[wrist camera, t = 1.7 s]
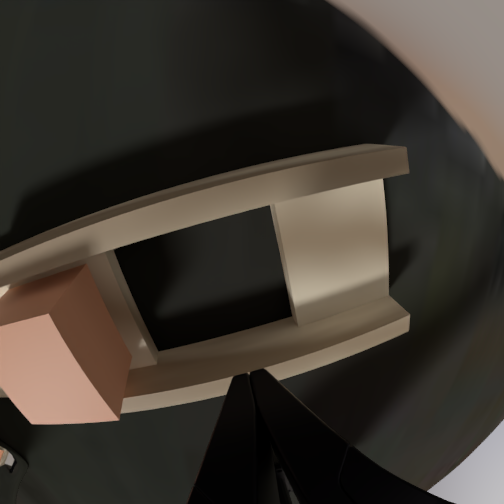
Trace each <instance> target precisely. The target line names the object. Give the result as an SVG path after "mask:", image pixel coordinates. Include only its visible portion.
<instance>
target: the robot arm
mask: <svg viewBox="0 0 504 504" xmlns="http://www.w3.org/2000/svg"><path fill="white" fill-rule="evenodd" d="M270 443H271V444H270ZM271 445H272V448H273V450H274V452H275V455H276V457H277V459H278V461H279V463H280V465H276V466H274V460H273V454H272V448H271ZM194 485H195V486H194V487H192V490H191V492H190V495H189V498H188V500H187V502H186V504H292V501H291V498H290V495H289V492H292V491H294V493H295V495H296V497H297V499H298V501H299V503H300V504H455V503H452V502H449V501H447V500H444V499H442V498H439V497H437V496H435V495H433V494H431V493H429V492H427V491H425V490H423V489H420V488H418V487H416V486H414V485H412V484H410V483H409V482H407V481H405V480H403V479H401V478H399V477H397V476H395V475H394V474H392V473H390V472H389V471H387V470H385V469H384V468H382V467H380V466H379V465H378V464H376V463H375V462H373V461H372V460H371V459H369V458H368V457H366V456H365V455H364V454H363V453H361V452H360V451H359V450H358V449H356V448H355V447H354V446H350V443H349V442H347V441H346V440H345V439H344V438H343V437H341V436H340V435H339V434H338V433H337V432H335V431H334V430H333V429H332V428H331V427H330V426H328V425H327V424H326V423H325V422H324V421H323V420H321V419H320V418H319V417H318V416H317V415H316V414H314V413H313V412H312V411H311V410H310V409H309V408H308V407H307V406H305V405H304V404H303V403H302V402H301V401H300V400H299V399H298V398H297V397H295V396H294V395H293V394H292V393H291V392H290V391H289V390H288V389H287V388H286V387H284V386H283V385H282V384H281V383H280V382H279V381H278V380H277V379H276V378H275V377H274V376H273V375H272V374H271V373H270V372H268V371H267V370H266V369H265V368H262V369H258V370H254V371H251V372H250V374H248V373H243V374H240V375H236V376H234V377H233V378H232V380H231V383H230V386H229V388H228V391H227V394H226V397H225V400H224V403H223V405H222V408H221V411H220V414H219V417H218V419H217V422H216V425H215V428H214V431H213V433H212V436H211V439H210V442H209V444H208V447H207V450H206V452H205V455H204V458H203V461H202V463H201V466H200V469H199V471H198V474H197V477H196V479H195V482H194Z"/></svg>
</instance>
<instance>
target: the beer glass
mask: <svg viewBox="0 0 504 504" xmlns="http://www.w3.org/2000/svg"><path fill="white" fill-rule="evenodd" d="M27 470H28V464H27V462H26V461H25V460H24V458H23V457H22V456H21V455H20V454H18V453H17V452H16V451H15V450H14V449H12V448H11V447H10V446H8V445H7V444H5V443H4V442H2V441H0V504H16V499H17V493H18V489H19V486H20V483H21V481H22V480H23V478H24V476H25V474H26V472H27Z"/></svg>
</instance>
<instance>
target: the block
mask: <svg viewBox="0 0 504 504" xmlns="http://www.w3.org/2000/svg"><path fill="white" fill-rule="evenodd" d="M131 360H132V355H131V354H130V352H129V350H128V348H127V346H126V345H125V343H124V341H123V339H122V337H121V335H120V333H119V331H118V330H117V328H116V326H115V324H114V322H113V320H112V318H111V316H110V314H109V312H108V310H107V308H106V305H105V303H104V301H103V299H102V297H101V295H100V293H99V290H98V288H97V286H96V284H95V282H94V279H93V277H92V275H91V272H90V270H89V268H88V265H87V264H84V265H80V266H77V267H74V268H71V269H68V270H65V271H62V272H59V273H56V274H53V275H50V276H47V277H44V278H41V279H38V280H35V281H32V282H29V283H26V284H23V285H21V286H18V287H15V288H12V289H9V290H8V291H7V292H6V293H5V294H4V295H3V296H2V297H1V298H0V387H1V388H2V389H3V390H4V392H5V393H6V394H7V396H8V397H9V398H10V399H11V401H12V402H13V403H14V404H15V405H16V407H17V408H18V409H19V410H20V411H21V413H22V414H23V415H24V416H25V417H26V418H27V419H28V420H29V422H30V423H31V424H75V423H92V422H105V421H116V420H119V419H120V414H121V408H122V403H123V398H124V393H125V388H126V383H127V378H128V373H129V369H130V364H131Z"/></svg>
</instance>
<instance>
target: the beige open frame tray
mask: <svg viewBox="0 0 504 504" xmlns="http://www.w3.org/2000/svg"><path fill="white" fill-rule="evenodd" d="M407 173H409V166H408V157H407V149H406V147H401V146H391V145H379V144H360V145H354V146H348V147H342V148H337V149H331V150H325V151H320V152H315V153H310V154H305V155H300V156H295V157H290V158H285V159H281V160H276V161H272V162H267V163H263V164H258V165H254V166H250V167H246V168H242V169H238V170H234V171H230V172H226V173H222V174H218V175H214V176H210V177H207V178H203V179H199V180H196V181H192V182H189V183H185V184H182V185H178V186H175V187H172V188H168V189H165V190H162V191H158V192H155V193H152V194H149V195H145V196H142V197H139V198H136V199H133V200H130V201H127V202H124V203H121V204H118V205H115V206H112V207H109V208H107V209H104V210H101V211H98V212H95V213H93V214H90V215H87V216H84V217H82V218H79V219H76V220H74V221H71V222H68V223H66V224H63V225H61V226H58V227H56V228H53V229H51V230H48V231H46V232H43V233H41V234H38V235H36V236H34V237H31V238H29V239H27V240H24V241H22V242H20V243H17V244H15V245H13V246H11V247H8V248H6V249H4V250H2V251H0V298H1V297H2V296H3V295H4V294H5V293H6V292H7V291H8V290H9V289H12V288H15V287H18V286H21V285H23V284H26V283H29V282H32V281H35V280H38V279H41V278H44V277H47V276H50V275H53V274H56V273H59V272H62V271H65V270H68V269H71V268H74V267H77V266H80V265H84V264H87V265H88V268H89V270H90V272H91V275H92V277H93V279H94V282H95V284H96V286H97V288H98V290H99V293H100V295H101V297H102V299H103V301H104V303H105V305H106V308H107V310H108V312H109V314H110V316H111V318H112V320H113V322H114V324H115V326H116V328H117V330H118V331H119V333H120V335H121V337H122V339H123V341H124V343H125V345H126V346H127V348H128V350H129V352H130V354H131V355H132V360H131V364H130V369H129V373H128V378H127V383H126V388H125V393H124V398H123V403H122V408H121V413H128V412H135V411H143V410H149V409H156V408H162V407H168V406H174V405H179V404H184V403H189V402H194V401H199V400H204V399H209V398H213V397H218V396H222V395H226V394H227V391H228V388H229V386H230V383H231V380H232V378H233V377H234V376H236V375H240V374H243V373H248V374H250V372H251V371H254V370H258V369H262V368H265V369H266V370H267V371H268V372H270V373H271V374H272V375H273V376H274V377H275V378H276V379H277V380H281V379H285V378H288V377H291V376H294V375H297V374H301V373H304V372H307V371H310V370H313V369H316V368H318V367H321V366H324V365H327V364H330V363H333V362H335V361H338V360H341V359H343V358H346V357H349V356H351V355H354V354H356V353H359V352H361V351H364V350H366V349H369V348H371V347H374V346H376V345H378V344H381V343H383V342H385V341H388V340H390V339H392V338H394V337H397V336H399V335H401V334H403V333H406V332H408V331H409V323H410V314H409V313H408V312H407V311H406V310H405V309H403V308H402V307H401V306H400V305H399V304H398V303H397V302H396V301H395V300H393V299H392V298H391V297H390V296H389V262H388V236H387V219H386V206H385V195H384V185H383V178H388V177H392V176H397V175H402V174H407ZM267 205H270V208H271V212H272V217H273V222H274V227H275V231H276V236H277V241H278V246H279V251H280V256H281V261H282V266H283V271H284V276H285V281H286V286H287V291H288V296H289V302H290V307H291V312H292V316H291V317H288V318H285V319H281V320H278V321H275V322H271V323H268V324H265V325H261V326H258V327H254V328H251V329H247V330H243V331H240V332H236V333H232V334H229V335H225V336H221V337H217V338H213V339H209V340H206V341H202V342H198V343H193V344H189V345H185V346H181V347H177V348H172V349H168V350H164V351H159V352H158V350H157V348H156V346H155V344H154V342H153V340H152V338H151V336H150V334H149V332H148V329H147V327H146V325H145V323H144V321H143V319H142V317H141V315H140V312H139V310H138V308H137V306H136V304H135V301H134V299H133V297H132V294H131V292H130V290H129V287H128V285H127V283H126V280H125V278H124V276H123V273H122V271H121V268H120V266H119V263H118V261H117V258H116V255H115V253H114V250H113V249H115V248H119V247H122V246H125V245H128V244H132V243H135V242H138V241H141V240H145V239H148V238H151V237H155V236H158V235H162V234H165V233H168V232H172V231H175V230H179V229H182V228H186V227H189V226H193V225H196V224H200V223H203V222H207V221H211V220H214V219H218V218H222V217H225V216H229V215H233V214H236V213H240V212H244V211H248V210H252V209H256V208H259V207H263V206H267ZM0 397H8V396H7V394H6V393H5V392H4V390H3V389H2V388H1V387H0Z"/></svg>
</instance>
